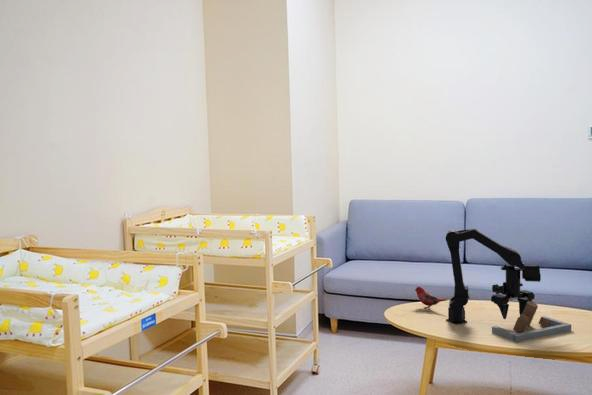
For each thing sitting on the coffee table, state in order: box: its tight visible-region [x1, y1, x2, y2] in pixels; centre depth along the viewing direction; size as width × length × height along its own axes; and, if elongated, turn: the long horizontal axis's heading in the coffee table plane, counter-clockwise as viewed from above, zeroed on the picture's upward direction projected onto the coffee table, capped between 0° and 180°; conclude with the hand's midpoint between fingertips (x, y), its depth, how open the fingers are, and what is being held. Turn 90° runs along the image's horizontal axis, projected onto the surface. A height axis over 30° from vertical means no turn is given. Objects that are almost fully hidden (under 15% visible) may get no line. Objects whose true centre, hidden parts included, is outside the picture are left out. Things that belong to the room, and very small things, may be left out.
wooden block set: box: [512, 300, 550, 334], centre depth 211 cm, size 18×9×10 cm, turn 123°
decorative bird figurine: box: [414, 286, 448, 310], centre depth 242 cm, size 3×18×10 cm, turn 43°
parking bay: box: [491, 315, 572, 344], centre depth 207 cm, size 29×13×2 cm, turn 113°
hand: (512, 317), depth 216 cm, fingers open, 9 cm apart
